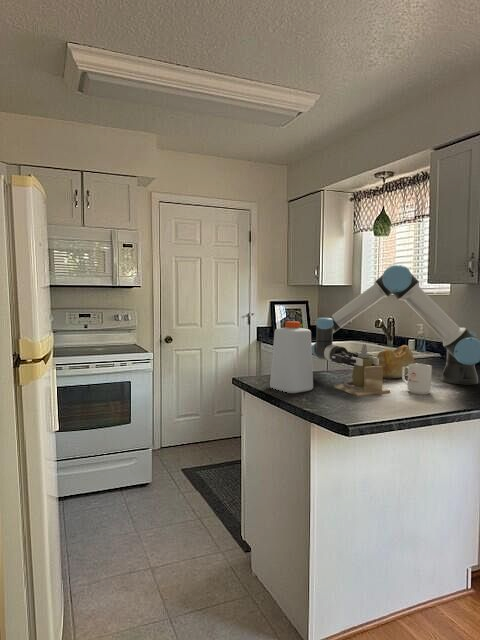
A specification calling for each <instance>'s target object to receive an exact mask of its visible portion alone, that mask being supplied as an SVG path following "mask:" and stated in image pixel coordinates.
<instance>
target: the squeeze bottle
mask: <svg viewBox="0 0 480 640" xmlns="http://www.w3.org/2000/svg"><path fill="white" fill-rule="evenodd" d="M361 346H362V347H361V349H360V351H359V352H357V353H358V357H357V358H360V359H363V366H359V365H355V364H353V370H352V376H351V379H352V380H351V381H353V384H354V386H356V387H364V369H365V367H370V366H373V364H372V360H371V359H370V358H369V357H370V355H371V353H369V352H368V347H367V344H365V343H363V344H362V345H361Z"/></svg>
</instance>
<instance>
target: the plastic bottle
mask: <svg viewBox="0 0 480 640" xmlns="http://www.w3.org/2000/svg"><path fill="white" fill-rule="evenodd" d="M284 324H285V326H284V327H278V328H275V329H274V333H273V346H272V355H271V366H270V367H271V369H270V378H269V386H270V388H271V389H272V388H273V389H272V390H275V389H276V390H275V391H278V390H279V391H278V392H282V391H283V392H282V393H285V392H287V393H286V394H299V393H305V392H309V391H312V390H313V388H314V373H313V372H314V370H313V353H312V347H313V345H312V331H311V330H310V329H309V328H303V327H301V322H300V321H296V320H295V321H294V320H292V321H291V320H288V321H287V320H286V321H285V323H284Z"/></svg>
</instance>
